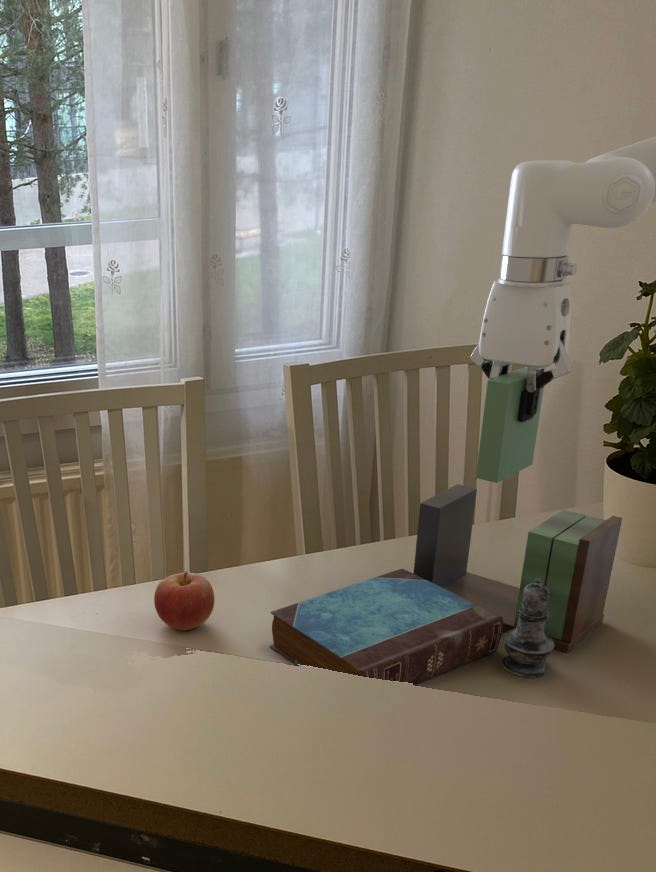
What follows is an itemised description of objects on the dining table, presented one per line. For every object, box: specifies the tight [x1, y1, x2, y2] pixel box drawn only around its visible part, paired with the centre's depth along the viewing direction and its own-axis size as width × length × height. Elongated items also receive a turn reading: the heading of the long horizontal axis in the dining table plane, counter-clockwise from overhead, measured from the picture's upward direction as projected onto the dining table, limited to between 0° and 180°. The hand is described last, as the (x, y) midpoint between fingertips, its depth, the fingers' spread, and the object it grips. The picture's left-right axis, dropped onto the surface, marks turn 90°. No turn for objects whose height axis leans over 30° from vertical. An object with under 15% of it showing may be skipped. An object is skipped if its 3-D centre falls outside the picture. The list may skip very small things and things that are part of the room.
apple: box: [153, 571, 215, 631], centre depth 121 cm, size 8×8×8 cm
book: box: [269, 568, 503, 685], centre depth 114 cm, size 23×18×5 cm
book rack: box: [412, 483, 623, 654], centre depth 121 cm, size 11×24×15 cm, turn 46°
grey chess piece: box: [500, 577, 554, 679], centre depth 108 cm, size 6×6×12 cm
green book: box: [475, 366, 545, 484], centre depth 120 cm, size 10×3×13 cm, turn 135°
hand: (512, 415), depth 119 cm, fingers closed on green book, 3 cm apart
